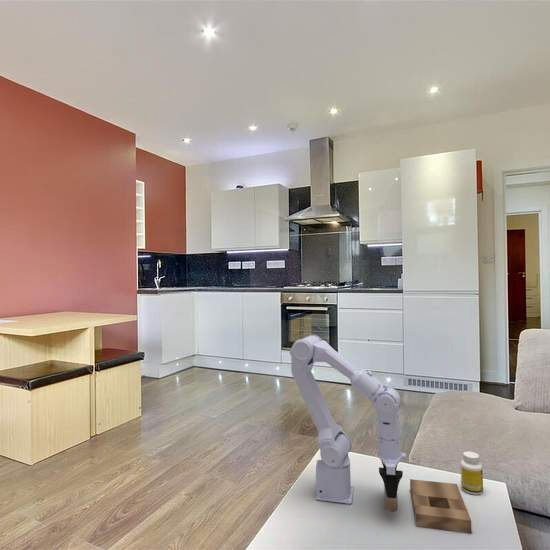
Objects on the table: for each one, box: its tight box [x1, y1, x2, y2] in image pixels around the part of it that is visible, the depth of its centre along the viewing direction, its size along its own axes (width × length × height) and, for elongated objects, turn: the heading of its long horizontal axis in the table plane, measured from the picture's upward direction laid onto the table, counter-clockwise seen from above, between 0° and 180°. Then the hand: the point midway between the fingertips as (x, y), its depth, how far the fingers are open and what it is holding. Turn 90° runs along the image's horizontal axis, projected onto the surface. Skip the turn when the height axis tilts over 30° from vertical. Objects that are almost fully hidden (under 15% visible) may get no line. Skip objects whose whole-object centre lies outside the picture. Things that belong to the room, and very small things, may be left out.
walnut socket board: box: [409, 478, 472, 534], centre depth 97 cm, size 12×16×3 cm
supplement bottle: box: [460, 451, 484, 496], centre depth 105 cm, size 5×5×10 cm
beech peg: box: [383, 484, 399, 512], centre depth 98 cm, size 3×3×9 cm
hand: (390, 489), depth 98 cm, fingers open, 7 cm apart
